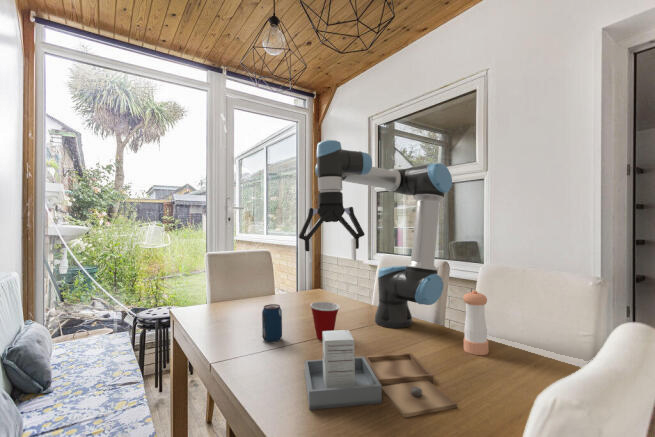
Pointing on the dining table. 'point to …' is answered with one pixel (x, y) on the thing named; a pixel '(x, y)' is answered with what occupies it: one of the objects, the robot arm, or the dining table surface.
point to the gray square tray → (360, 394)
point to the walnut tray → (398, 368)
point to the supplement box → (338, 359)
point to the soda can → (272, 323)
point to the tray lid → (417, 398)
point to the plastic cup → (324, 316)
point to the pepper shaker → (475, 324)
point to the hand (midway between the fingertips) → (332, 260)
